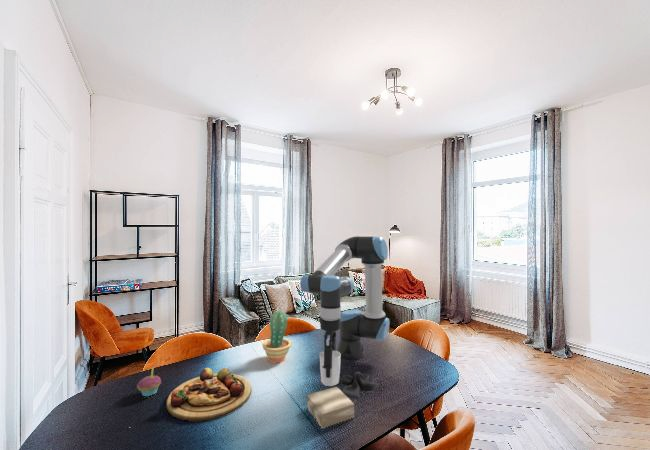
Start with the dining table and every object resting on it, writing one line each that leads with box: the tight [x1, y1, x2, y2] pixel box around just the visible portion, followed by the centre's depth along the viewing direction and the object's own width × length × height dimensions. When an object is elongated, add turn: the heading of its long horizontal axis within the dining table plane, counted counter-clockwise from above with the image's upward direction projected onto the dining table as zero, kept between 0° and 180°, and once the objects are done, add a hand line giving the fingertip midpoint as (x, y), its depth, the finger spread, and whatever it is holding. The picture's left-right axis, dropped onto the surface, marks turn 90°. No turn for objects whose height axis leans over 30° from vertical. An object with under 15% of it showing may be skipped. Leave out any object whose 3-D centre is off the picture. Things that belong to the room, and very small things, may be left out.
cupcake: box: [136, 367, 162, 397], centre depth 119 cm, size 9×8×12 cm
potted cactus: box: [262, 309, 292, 364], centre depth 152 cm, size 15×15×25 cm
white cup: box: [319, 350, 341, 387], centre depth 108 cm, size 8×8×10 cm
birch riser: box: [306, 386, 355, 430], centre depth 107 cm, size 13×13×5 cm
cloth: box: [338, 371, 380, 399], centre depth 127 cm, size 22×19×6 cm
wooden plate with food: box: [165, 367, 252, 422], centre depth 118 cm, size 32×32×8 cm
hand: (330, 379), depth 107 cm, fingers closed on white cup, 8 cm apart
